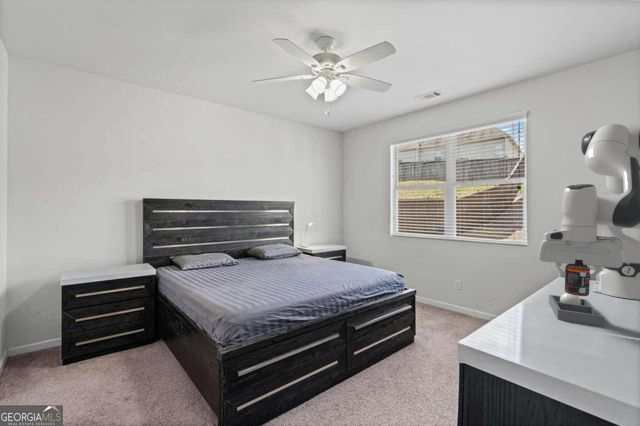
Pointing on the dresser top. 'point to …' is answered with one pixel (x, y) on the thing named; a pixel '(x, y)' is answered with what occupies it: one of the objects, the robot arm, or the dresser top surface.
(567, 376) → the dresser top surface
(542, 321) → the dresser top surface
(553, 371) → the dresser top surface
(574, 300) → the ceramic ball
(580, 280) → the supplement bottle
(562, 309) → the divided tray
